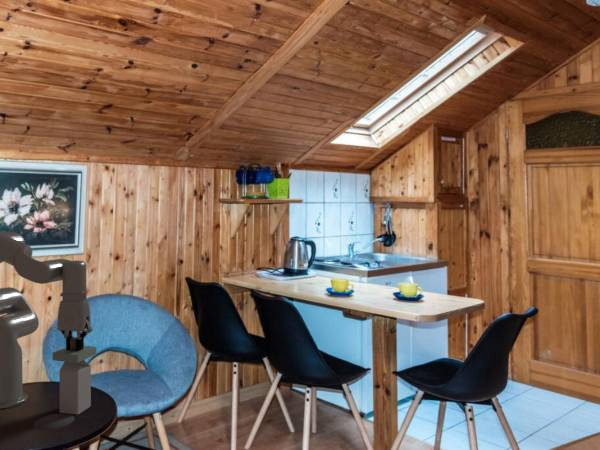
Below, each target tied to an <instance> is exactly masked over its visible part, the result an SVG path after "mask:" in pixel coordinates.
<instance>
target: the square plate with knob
mask: <svg viewBox="0 0 600 450" xmlns="http://www.w3.org/2000/svg"><path fill="white" fill-rule="evenodd" d="M76 340H77V336H73V337H72V338H70V350H66V346H65V347H64V348H61V349H58V350H56V351H54V352H52V361H54V362H55V361H56V362H63V363H64V362H74V363H79V362H81V361H83V360H85V361H86V360H87V359H90V358H91V357H93V356H96V355H97V346H93V345H91V346H90V345H84V348H83V349H82V350H80V351H76Z"/></svg>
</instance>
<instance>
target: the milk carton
mask: <svg viewBox="0 0 600 450" xmlns="http://www.w3.org/2000/svg"><path fill="white" fill-rule="evenodd" d="M91 370H92V367H91V364H89V363H88V362H87V361H86V359H85V360H83V361H81V362H79V363H74V362H64V361H63V364H62V365H61V367H60V369H59V414H60V413H65V414H71V415H79V414H81V413H83V412H84V411H86V410H87V409H89V408H90V407H91V406H92V400H91V399H92V394H91V393H92V389H91V388H92V386H91V385H92V381H91V380H92V377H91V376H92V371H91Z"/></svg>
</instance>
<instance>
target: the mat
mask: <svg viewBox="0 0 600 450" xmlns="http://www.w3.org/2000/svg"><path fill="white" fill-rule="evenodd" d="M74 421H75V416H74V414H69V413H60V412H59V413H53V414H49V415H45V416H43V417H40V418H38V419H36V421H34V423H33V428H34V429H37V430H41V431H52V430H57V429H61V428H64V427H66V426H68V425H71V424H72V423H73V422H74Z"/></svg>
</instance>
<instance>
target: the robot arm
mask: <svg viewBox="0 0 600 450" xmlns="http://www.w3.org/2000/svg"><path fill="white" fill-rule="evenodd" d="M3 262H4V263H6V264H7V265H10V266H12V267H13V268H14V271H15V272H16V273H17V274H18V276H20V277H21V278H23V279H25V280H28V281H30V282H32V283H35V284H42V285H44V284H45V285H46V284H49V283H54V282H59V281H60V282H61V281H62V283H61V284H62V292H61V293H60V297H62V300H60V302H59V306H58V311H57V331H59V332H60V333H61V334H62V335H63V338H64V339H65V347H66V350H70V338H72V337H74V336H73V334H74V332H76V337H77V340H76V351H80V350H82V349H83V348H84V346H85V340H84V339H85V338H86V337H87V335H89V334H90V333H92V332H93V331H94V330H93V327H92V326H91V310H90V304H89V300H88V299H87V298H88V297H87V263H86V262H85V261H83V260H70V259H65V258H57V259H50V260H42V261H40V260H38V259H35V258H33V248H32V247H31V246H30V245H28V244H27V243H26V241H25V238H24V236H22V235H21V234H20V233H19V232H15V231H9V232H8V231H7V232H6V231H5V232H0V264H1V263H3ZM39 320H40V319H39V317H38V314H37V313H36V312H35V310H34V309H33V307H32V306H31V305H30V303H29V301H28V300H27V298H25V296H24V294H23V293H22V292H21V291H20V290H18V289H17V288H14V287H9V286H8V287H2V288H0V409H7V408H12V407H17V406H19V405H21V404H24V403H25V402H26V401H28V393H27V392H23V391H24V389H23V387H24V385H23V350H22V347H21V344H19V341H18V339H20V338H23V337H26V336H28V335H31V334H33V333H35V332H36V331H37V330H38V328H39V324H40V322H39Z"/></svg>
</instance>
